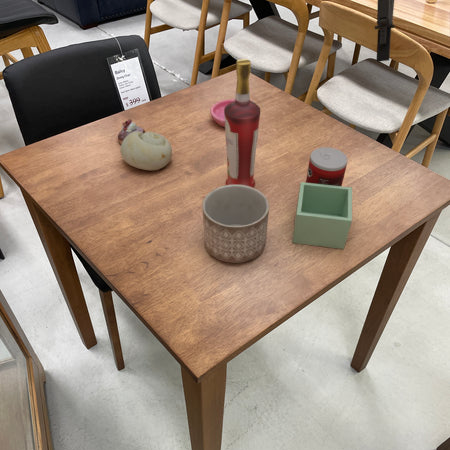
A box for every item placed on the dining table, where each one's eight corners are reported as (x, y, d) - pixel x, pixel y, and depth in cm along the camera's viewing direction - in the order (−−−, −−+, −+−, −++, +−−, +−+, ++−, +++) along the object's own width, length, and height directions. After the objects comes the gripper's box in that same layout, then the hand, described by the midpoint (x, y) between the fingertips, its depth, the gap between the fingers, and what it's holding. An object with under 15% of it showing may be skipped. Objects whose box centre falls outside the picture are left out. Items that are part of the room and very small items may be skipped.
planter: (203, 225, 94) (201, 185, 86) (261, 222, 95) (264, 182, 87) (206, 268, 86) (203, 228, 78) (269, 264, 87) (273, 225, 79)
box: (343, 249, 90) (351, 220, 84) (292, 242, 91) (296, 214, 85) (344, 216, 96) (352, 187, 90) (296, 210, 97) (300, 181, 92)
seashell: (169, 123, 107) (165, 141, 100) (175, 154, 112) (172, 173, 105) (118, 129, 108) (111, 146, 100) (126, 159, 113) (120, 178, 106)
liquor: (221, 180, 104) (219, 56, 83) (250, 175, 106) (256, 52, 84) (229, 199, 100) (229, 73, 78) (259, 194, 101) (268, 68, 79)
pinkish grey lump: (127, 129, 119) (124, 112, 115) (152, 134, 117) (149, 117, 113) (112, 144, 114) (108, 127, 111) (137, 150, 113) (134, 132, 109)
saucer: (243, 105, 127) (243, 95, 125) (262, 126, 120) (263, 115, 117) (203, 114, 124) (203, 104, 122) (221, 136, 117) (221, 125, 114)
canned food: (316, 184, 103) (324, 142, 95) (344, 199, 100) (355, 157, 91) (296, 199, 100) (302, 157, 91) (324, 215, 96) (333, 172, 88)
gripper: (375, -52, 101) (370, 63, 110) (366, -68, 90) (361, 62, 100) (411, -60, 97) (402, 59, 107) (405, -77, 87) (396, 57, 97)
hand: (382, 60), depth 104 cm, fingers closed
